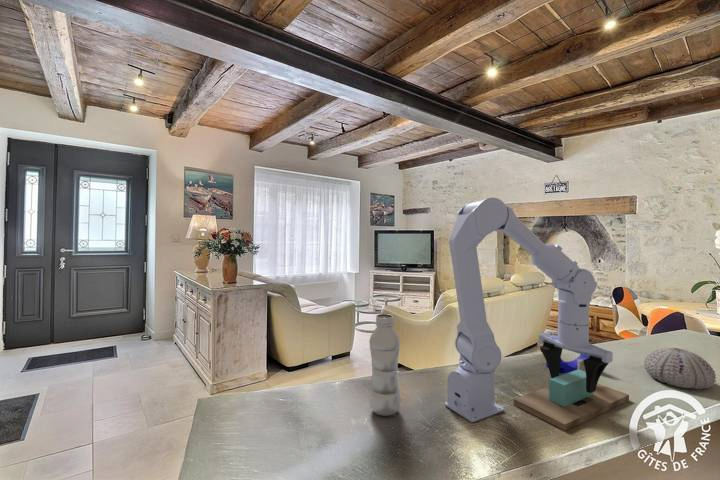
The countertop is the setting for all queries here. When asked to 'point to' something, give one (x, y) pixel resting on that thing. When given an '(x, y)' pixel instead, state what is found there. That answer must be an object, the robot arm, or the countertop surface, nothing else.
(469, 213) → the robot arm
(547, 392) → the slotted wooden board
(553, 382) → the teal rectangular block
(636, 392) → the countertop surface
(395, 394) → the plastic bottle
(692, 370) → the sea urchin shell
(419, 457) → the countertop surface
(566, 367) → the blue concave arch block
